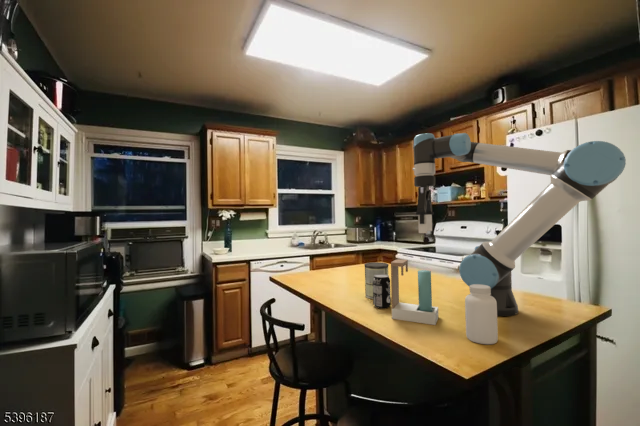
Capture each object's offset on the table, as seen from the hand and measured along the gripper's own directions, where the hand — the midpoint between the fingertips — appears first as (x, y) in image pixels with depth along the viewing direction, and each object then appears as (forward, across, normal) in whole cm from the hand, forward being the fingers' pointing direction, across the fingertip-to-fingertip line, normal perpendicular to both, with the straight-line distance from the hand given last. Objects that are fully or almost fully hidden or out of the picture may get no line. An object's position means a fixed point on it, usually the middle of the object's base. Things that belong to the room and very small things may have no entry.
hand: (425, 232), depth 114 cm
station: (+29, +13, -2) cm, 32 cm away
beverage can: (+29, +5, -16) cm, 33 cm away
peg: (+28, +13, +1) cm, 31 cm away
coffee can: (+29, -8, -22) cm, 37 cm away
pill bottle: (+29, +23, +18) cm, 41 cm away
